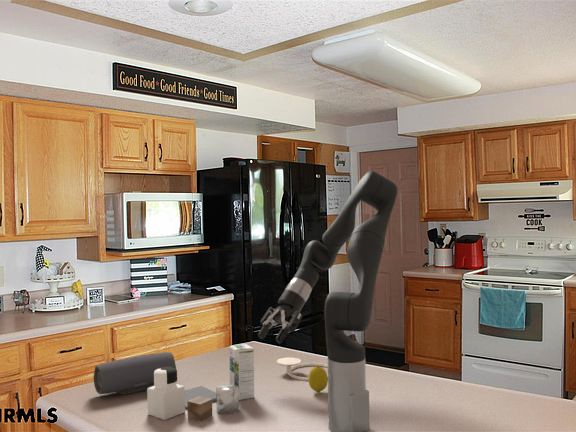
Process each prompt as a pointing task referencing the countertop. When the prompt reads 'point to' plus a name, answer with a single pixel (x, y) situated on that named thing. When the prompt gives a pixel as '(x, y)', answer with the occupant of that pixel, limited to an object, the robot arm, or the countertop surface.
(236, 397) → the brushed tin
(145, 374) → the bluetooth speaker
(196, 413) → the walnut block
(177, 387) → the medicine bottle
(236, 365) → the syrup box
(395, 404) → the countertop surface
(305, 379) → the hand towel holder
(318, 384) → the lemon
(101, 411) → the countertop surface
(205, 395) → the plate
